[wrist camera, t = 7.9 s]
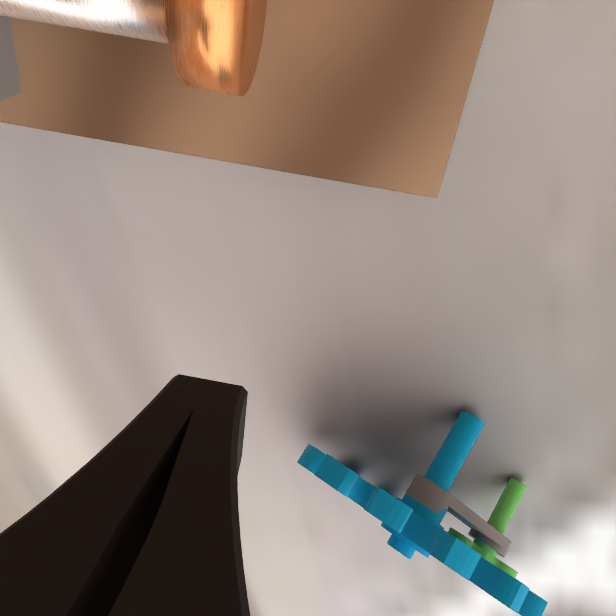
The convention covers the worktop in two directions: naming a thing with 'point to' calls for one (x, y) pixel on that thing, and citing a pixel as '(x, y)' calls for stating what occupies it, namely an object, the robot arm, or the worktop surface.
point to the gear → (441, 517)
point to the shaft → (171, 32)
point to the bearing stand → (269, 90)
